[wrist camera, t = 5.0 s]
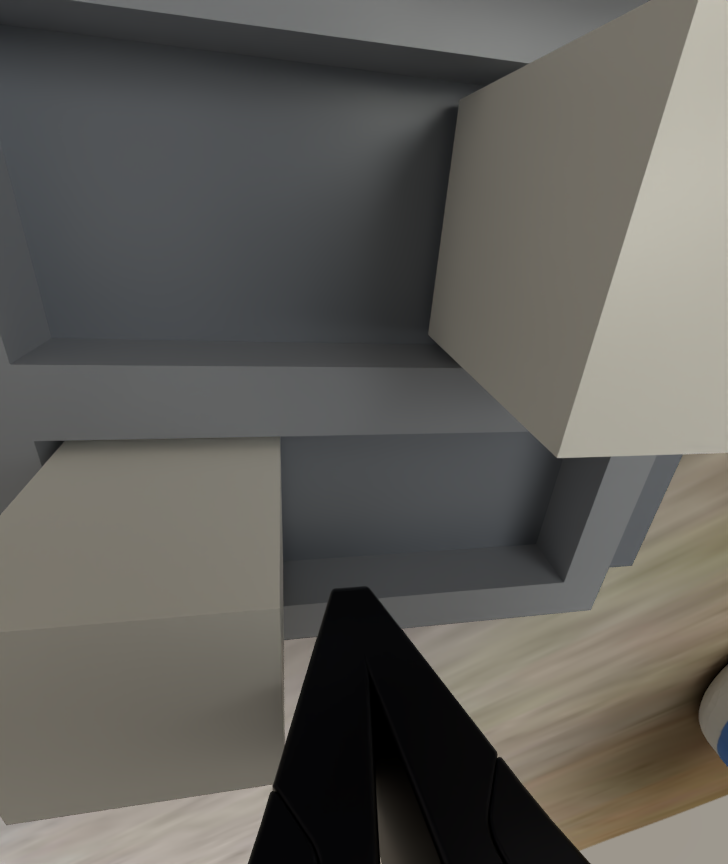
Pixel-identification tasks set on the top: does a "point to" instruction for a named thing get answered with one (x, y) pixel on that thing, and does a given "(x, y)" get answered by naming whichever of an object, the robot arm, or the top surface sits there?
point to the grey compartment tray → (288, 285)
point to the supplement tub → (716, 714)
